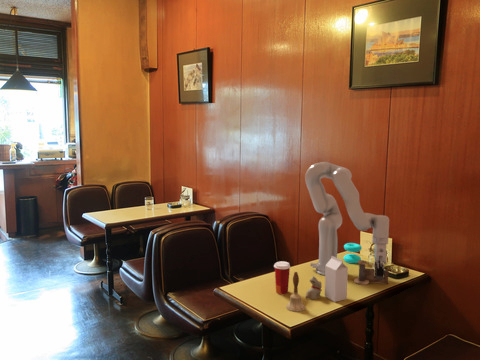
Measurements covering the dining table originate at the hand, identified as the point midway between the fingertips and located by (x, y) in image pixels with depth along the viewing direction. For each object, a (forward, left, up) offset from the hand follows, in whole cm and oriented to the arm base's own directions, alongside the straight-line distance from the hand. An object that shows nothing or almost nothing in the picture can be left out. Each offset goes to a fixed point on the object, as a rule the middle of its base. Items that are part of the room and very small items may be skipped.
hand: (378, 272), depth 197 cm
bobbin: (-9, -3, -5) cm, 10 cm away
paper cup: (-47, -24, -5) cm, 53 cm away
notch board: (-3, 0, -5) cm, 5 cm away
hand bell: (-39, -39, -5) cm, 55 cm away
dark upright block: (0, 0, -3) cm, 3 cm away
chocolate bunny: (-32, -26, -5) cm, 41 cm away
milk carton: (-22, -25, -5) cm, 33 cm away
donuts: (-12, +29, -5) cm, 32 cm away
